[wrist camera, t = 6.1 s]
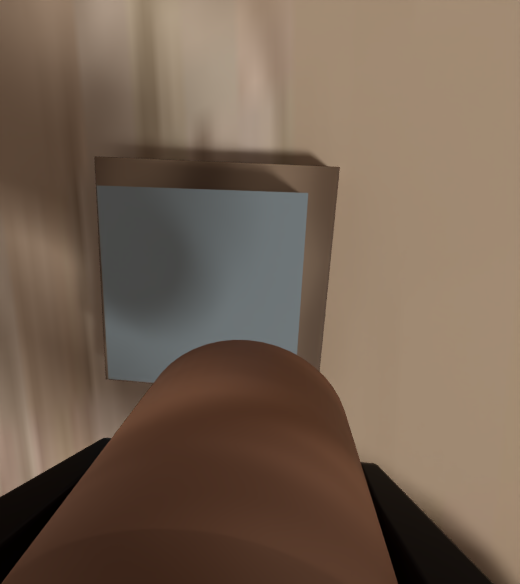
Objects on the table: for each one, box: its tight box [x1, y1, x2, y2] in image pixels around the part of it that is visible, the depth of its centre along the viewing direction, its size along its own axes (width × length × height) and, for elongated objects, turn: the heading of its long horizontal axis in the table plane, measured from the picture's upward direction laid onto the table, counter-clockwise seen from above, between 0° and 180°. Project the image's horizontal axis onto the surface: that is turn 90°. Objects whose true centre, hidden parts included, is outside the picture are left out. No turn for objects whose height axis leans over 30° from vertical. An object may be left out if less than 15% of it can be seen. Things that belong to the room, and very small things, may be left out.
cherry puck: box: [1, 340, 398, 584], centre depth 6 cm, size 6×6×5 cm
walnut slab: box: [95, 157, 340, 384], centre depth 18 cm, size 12×12×2 cm
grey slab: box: [97, 186, 308, 383], centre depth 16 cm, size 9×9×2 cm
